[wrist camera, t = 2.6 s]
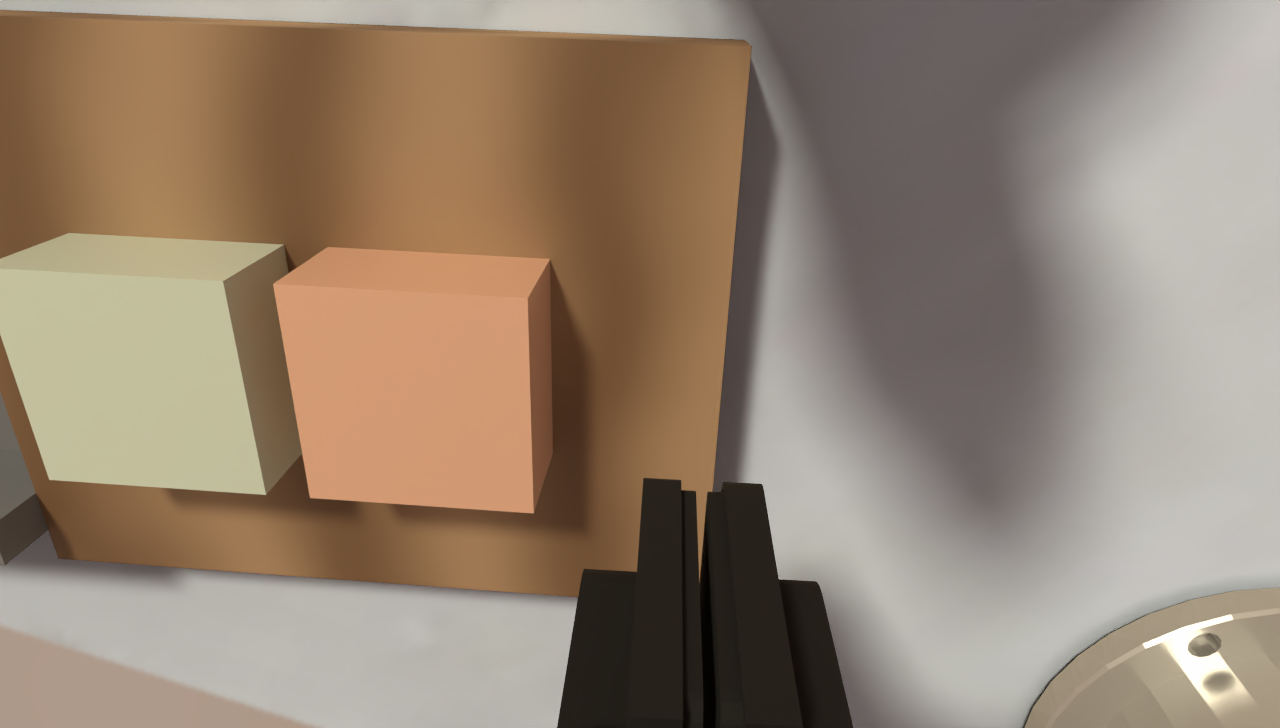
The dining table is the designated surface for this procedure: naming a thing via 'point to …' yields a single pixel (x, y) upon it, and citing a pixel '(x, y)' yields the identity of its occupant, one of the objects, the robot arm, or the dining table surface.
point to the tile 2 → (421, 376)
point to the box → (16, 496)
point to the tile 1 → (152, 360)
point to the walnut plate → (403, 221)
